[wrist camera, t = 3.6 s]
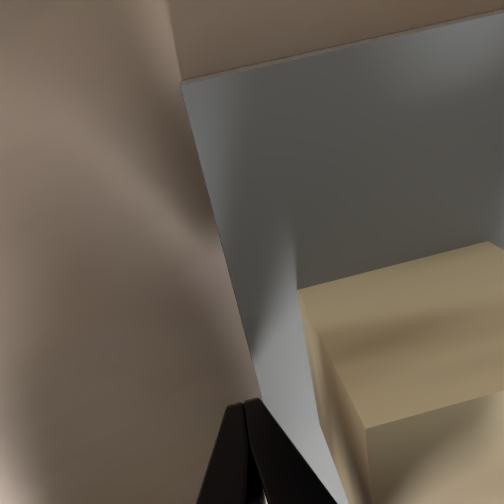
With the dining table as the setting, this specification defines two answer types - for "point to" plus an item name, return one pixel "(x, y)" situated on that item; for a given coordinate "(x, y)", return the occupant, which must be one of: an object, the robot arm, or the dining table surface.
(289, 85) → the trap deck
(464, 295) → the beech block
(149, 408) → the dining table surface
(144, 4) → the dining table surface
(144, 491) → the dining table surface
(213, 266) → the dining table surface
